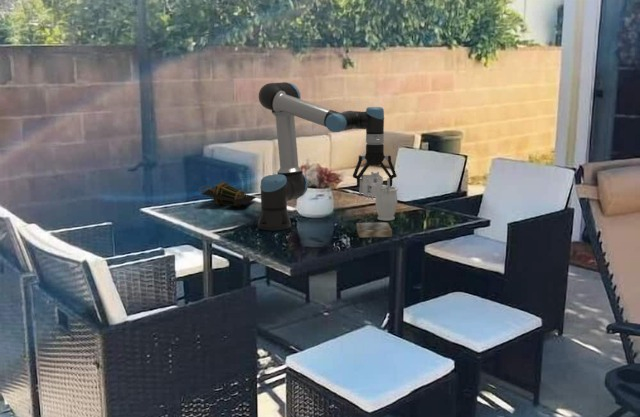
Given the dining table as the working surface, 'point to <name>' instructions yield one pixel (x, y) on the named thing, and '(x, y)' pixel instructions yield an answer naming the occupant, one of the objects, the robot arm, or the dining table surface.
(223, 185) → the lantern
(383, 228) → the stand
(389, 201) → the jar
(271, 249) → the dining table surface
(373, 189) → the mechanical part
